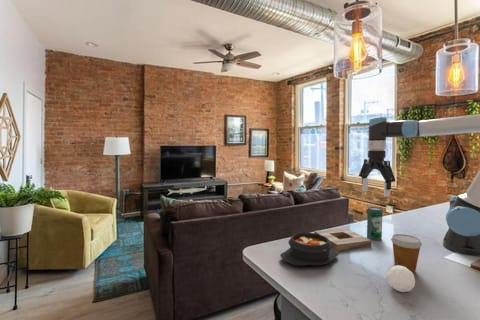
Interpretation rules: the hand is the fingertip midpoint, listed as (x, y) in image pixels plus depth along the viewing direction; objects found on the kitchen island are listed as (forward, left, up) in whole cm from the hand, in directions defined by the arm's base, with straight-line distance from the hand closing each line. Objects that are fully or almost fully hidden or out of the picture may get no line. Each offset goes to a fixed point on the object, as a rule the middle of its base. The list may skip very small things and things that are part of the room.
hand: (375, 193), depth 126 cm
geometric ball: (-39, +26, -22) cm, 52 cm away
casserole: (-11, +42, -22) cm, 49 cm away
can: (0, 0, -22) cm, 22 cm away
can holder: (+1, +18, -22) cm, 29 cm away
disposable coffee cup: (-29, +13, -22) cm, 39 cm away
